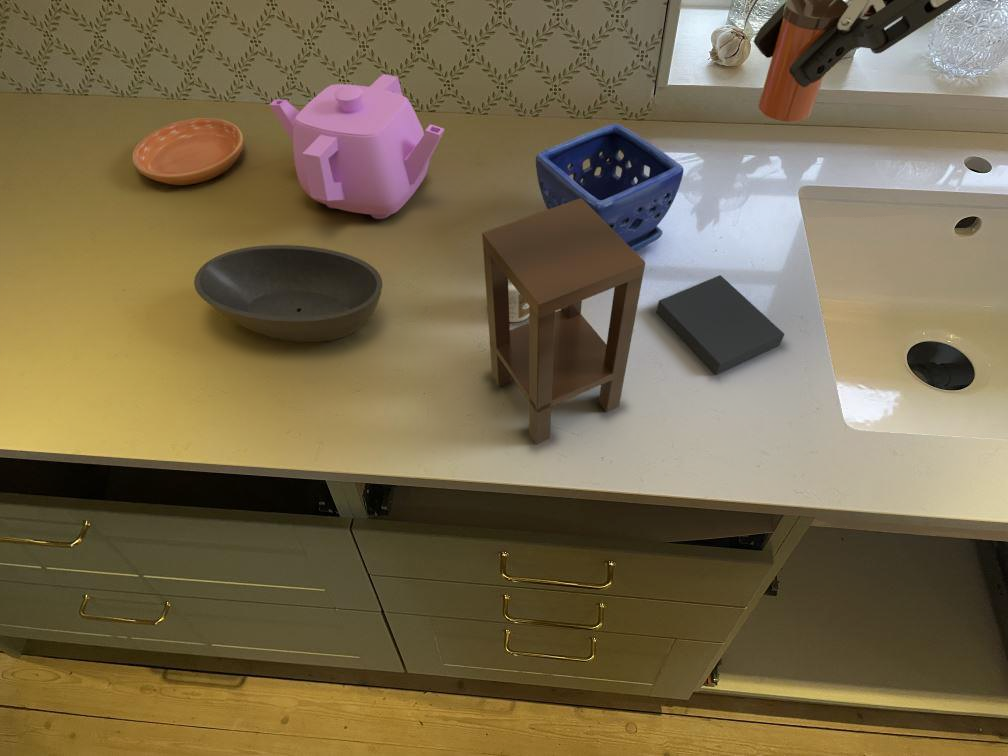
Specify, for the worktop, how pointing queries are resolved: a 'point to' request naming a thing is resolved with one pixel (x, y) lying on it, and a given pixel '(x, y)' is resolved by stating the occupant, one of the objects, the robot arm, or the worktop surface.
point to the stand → (560, 307)
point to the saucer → (189, 151)
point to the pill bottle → (516, 305)
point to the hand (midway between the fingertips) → (778, 63)
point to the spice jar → (796, 57)
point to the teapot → (359, 146)
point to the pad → (719, 324)
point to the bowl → (291, 291)
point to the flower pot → (612, 180)
